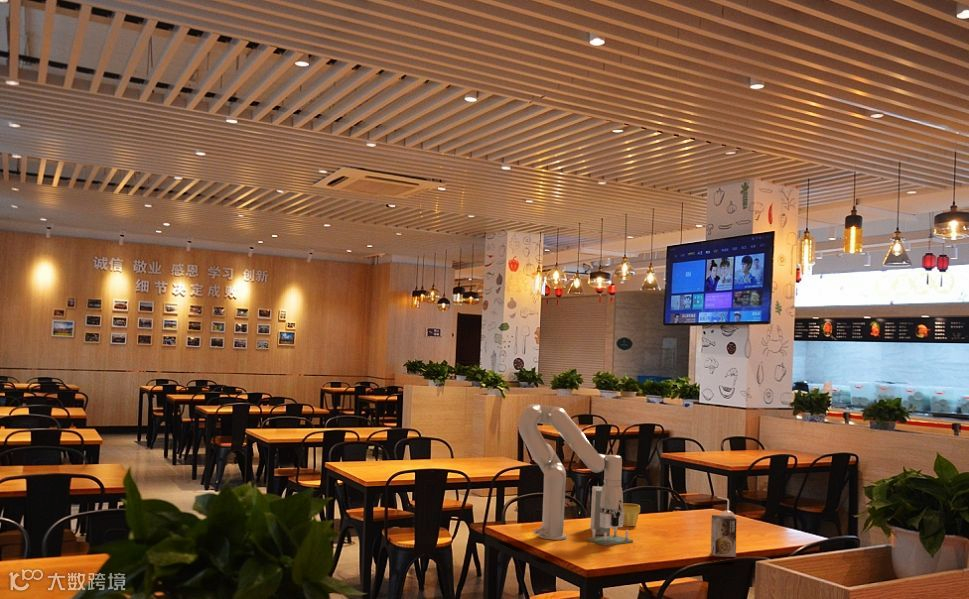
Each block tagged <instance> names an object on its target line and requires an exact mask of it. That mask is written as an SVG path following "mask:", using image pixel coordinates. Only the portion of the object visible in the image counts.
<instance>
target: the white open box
mask: <svg viewBox="0 0 969 599" xmlns="http://www.w3.org/2000/svg"><path fill="white" fill-rule="evenodd" d="M616 513H617V511H616ZM613 517H614V514H613V511H611V512H603V513H600V527H603V528H610V529H614V528H615V527H613V526H612V523H613ZM623 520H624V513H622V514H621V515H620V517H619V526H616V527H617V528H623V527H624V526H623Z"/></svg>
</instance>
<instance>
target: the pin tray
mask: <svg viewBox="0 0 969 599" xmlns="http://www.w3.org/2000/svg"><path fill="white" fill-rule="evenodd" d="M617 531H618V527H615V528H613V534H612V535H607V533H604V535H601V536H597V537H596V534H595V529H593V532H592V537H587V540H588V542H591V543H594V542H595V543H594V544H597V543H598V545H600V546H605V547H607V546H606V545H608V546H613V545H614V544H616V545H623V544H622V543H624V544H631V543H630V542H632V543H634V540H633V539H630V538H629V531H630V530H628V529H626V530H625V537H623V536H619V535H618V534H617V533H618V532H617Z"/></svg>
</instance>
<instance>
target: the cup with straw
mask: <svg viewBox="0 0 969 599" xmlns="http://www.w3.org/2000/svg"><path fill="white" fill-rule="evenodd" d="M717 498H718V499H722V500H726V501H727V506H726V510H723V511H722V512H720V514H719V515H724V516H733V517H735V518H736V519H737V520H738V518H737V517H736V515H735V513H734V511H731V510H730V499H729V498H726V497H723V496H719V495H717V496H716V499H717Z"/></svg>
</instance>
